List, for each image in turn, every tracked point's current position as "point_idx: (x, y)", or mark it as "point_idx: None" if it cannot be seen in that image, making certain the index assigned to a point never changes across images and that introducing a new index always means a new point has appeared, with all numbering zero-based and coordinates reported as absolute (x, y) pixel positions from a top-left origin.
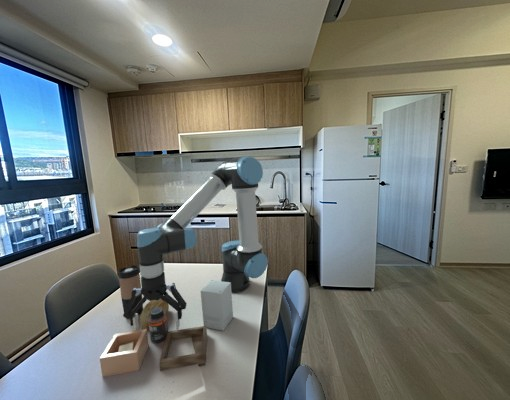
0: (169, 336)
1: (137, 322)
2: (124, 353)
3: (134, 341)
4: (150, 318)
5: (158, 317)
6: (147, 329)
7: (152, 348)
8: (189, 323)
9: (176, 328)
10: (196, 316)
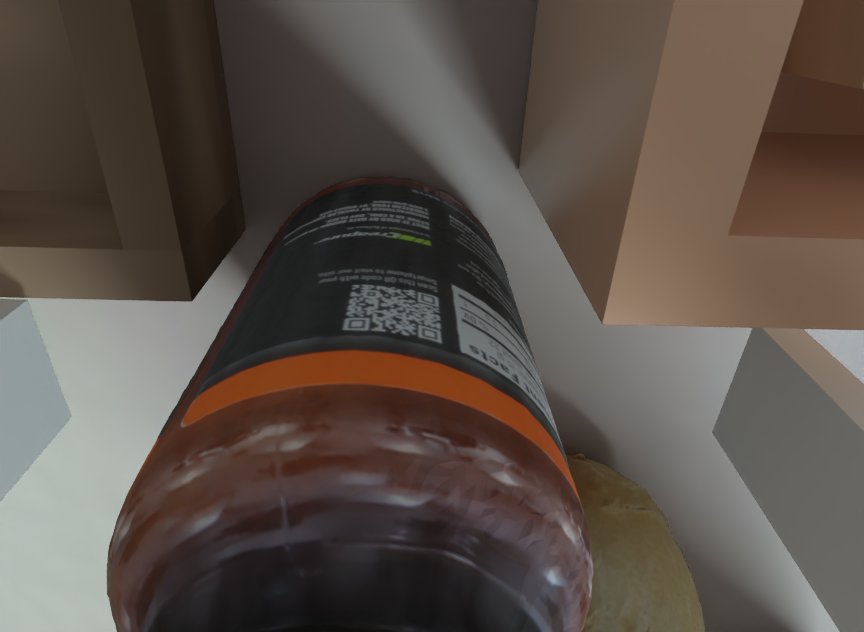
0: (100, 150)
1: (842, 554)
2: None
3: (798, 168)
4: (542, 608)
5: (247, 601)
6: (580, 461)
7: (458, 131)
8: (78, 465)
9: (4, 313)
10: (39, 545)
